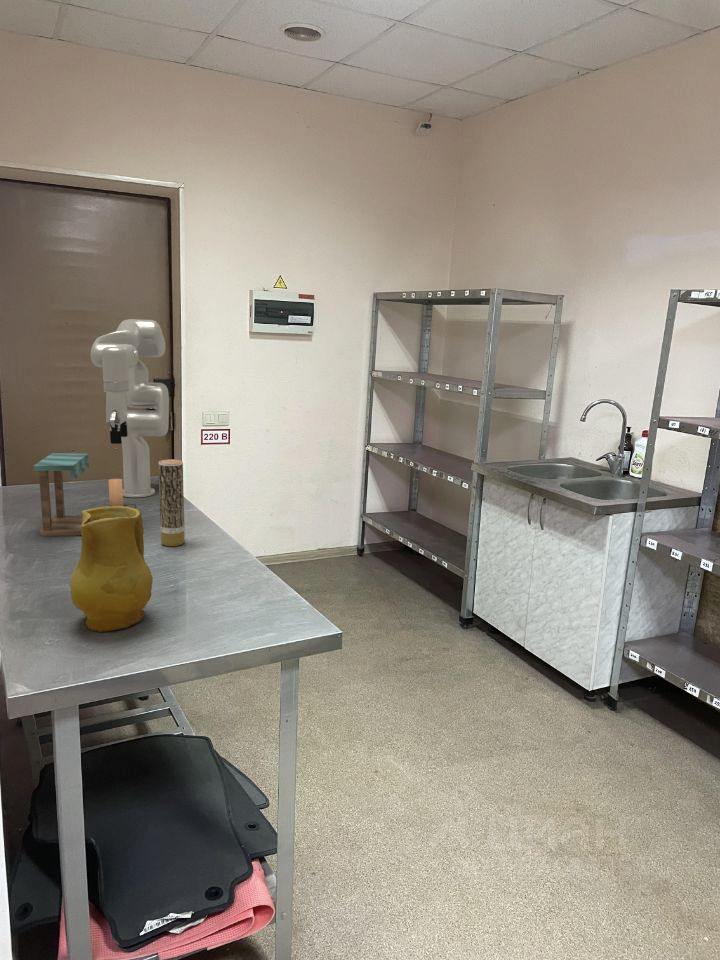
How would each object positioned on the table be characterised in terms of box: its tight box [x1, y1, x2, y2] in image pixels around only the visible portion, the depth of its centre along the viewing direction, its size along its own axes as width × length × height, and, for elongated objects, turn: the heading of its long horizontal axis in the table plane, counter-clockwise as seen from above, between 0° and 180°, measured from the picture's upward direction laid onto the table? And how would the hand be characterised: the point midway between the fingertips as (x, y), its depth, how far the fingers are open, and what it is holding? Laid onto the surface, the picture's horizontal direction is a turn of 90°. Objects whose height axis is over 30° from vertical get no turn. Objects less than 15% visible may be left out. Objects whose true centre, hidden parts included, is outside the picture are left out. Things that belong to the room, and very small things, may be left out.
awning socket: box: [33, 452, 137, 537], centre depth 212 cm, size 18×27×22 cm, turn 98°
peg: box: [108, 478, 124, 507], centre depth 214 cm, size 4×4×14 cm
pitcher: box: [69, 506, 153, 633], centre depth 149 cm, size 17×19×25 cm
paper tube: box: [158, 459, 185, 547], centre depth 200 cm, size 7×7×25 cm
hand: (119, 440), depth 217 cm, fingers open, 9 cm apart
